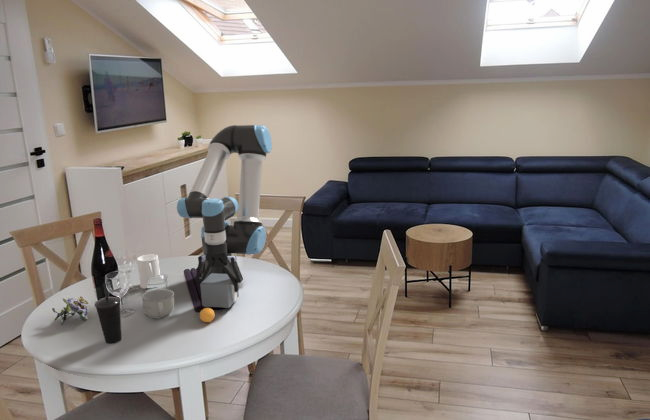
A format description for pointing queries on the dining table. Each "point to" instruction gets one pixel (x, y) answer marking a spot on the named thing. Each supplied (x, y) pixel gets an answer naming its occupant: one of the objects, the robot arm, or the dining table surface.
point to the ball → (207, 315)
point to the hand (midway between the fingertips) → (220, 299)
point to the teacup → (158, 302)
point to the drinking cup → (109, 317)
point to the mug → (147, 268)
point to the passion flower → (73, 309)
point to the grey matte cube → (217, 291)
